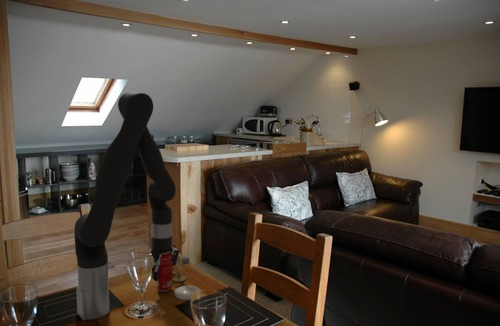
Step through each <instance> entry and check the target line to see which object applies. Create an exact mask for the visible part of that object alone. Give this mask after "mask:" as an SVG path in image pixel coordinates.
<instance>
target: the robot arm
mask: <svg viewBox="0 0 500 326" xmlns="http://www.w3.org/2000/svg"><path fill="white" fill-rule="evenodd" d="M117 107H118V111H119V113H120V115H121V118H122V119H123V122H122V125H121V127H120V130H119V132H118V133H117V135H116V136H115V138H114V139H113V141H112V142H111V143H110V144H109V145H108V147H107V148H106V150H105V151H104V153H103V155H102V158H101V161H100V163H99V166H98V169H97V172H96V178H95V187H94V197H93V202H92V203H91V207H90V209H89V211H88V212H86V213H84V214H82V215H80V216H79V218H78V219H77V220H76V221H75V224H74V227H73V228H74V230H73V232H74V249H75V256H76V257H75V258H76V262H77V283H78V285H76V289H75V290H76V313H77V315H78V316H79V317H80V318H81V320H82V321H86V320H96V319H100V318H103V317H105V316H106V315H108V313H109V312H110V295H109V293H110V290H109V288H110V287H109V256H108V251H107V247H106V243H105V242H106V241H107V239H108V238H109V235H110V232H111V228H112V225H113V220H114V216H115V215H114V214H115V211H116V209H117V206H118V202H119V200H120V197H121V195H122V192H123V189H124V187H125V184H126V181H127V179H128V177H129V174H130V170H131V168H132V164H133V161H134V159H135V155H136V154H137V152H138V154H139V157H140V159H141V164H142V165H143V169H144V171H145V174H146V176H147V177H148V178H150V179H151V180H152V181H151V182H150V183H149V186H148V188H147V189H148V190H147V194H148V200H149V205H150V209H151V227H150V228H151V229H150V230H151V232H150V235H151V238H150V240H151V241H150V245H151V246H150V247H151V251H150V253H148V255H151V256H153V257H152V258H154V265H153V264H152V265H153V268H152V272H151V277H152V280H154V282H157V281H158V267H159V266H160V258H161V255H162V254H161V253H164V252H167V251H171V253H172V267H174V266H176V265H177V258H178V255H179V253H180V250H179V249H178V248H177V249H176V248H174V249H173V248H172V244H173V223H172V222H173V220H172V219H173V210H172V208H171V206H169V205H168V204H167V202H170V201H172V200H173V199H174V198H175V196H176V194H177V190H176V189H177V188H176V184H175V182H174V180H173V178H172V176H171V175H170V173H169V171H168V170H167V168H166V165H165V161H164V159H163V156H162V153H161V150H160V147H159V146H158V145H157V142H156V141H155V140H154V137H153V136H152V134H151V132H150V130H149V128H148V123H149V121H150V119H151V117H152V115H153V112H154V101H153V99H152V98H151V96H150V95H148V94H147V93H145V92H139V91H128V92H125V93H123V94H122V95H120V97H119V98H118V101H117ZM156 261H157V262H156Z"/></svg>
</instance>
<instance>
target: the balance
mask: <svg viewBox="0 0 500 326" xmlns="http://www.w3.org/2000/svg"><path fill="white" fill-rule="evenodd" d="M174 248H175V247H174ZM174 248H173V249H174ZM176 249H178V248H176ZM176 265H177V266H176V267H177V269H176V271H177V273H176V274H177V275H174V276H172V282H173V283H183V282H185V281H186V279H187V277H186V275H182V266H183V267H187V266H188V267H189V266H190V265H191V262H190V258H189V257H187V256H183V255H182V254H181V253H180V252H179V255H178V258H177V262H176Z"/></svg>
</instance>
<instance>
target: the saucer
mask: <svg viewBox="0 0 500 326" xmlns="http://www.w3.org/2000/svg"><path fill="white" fill-rule="evenodd" d="M197 292H199V293H200V289H199V287H197V286H194V285H182V286H179V287H177V288H176V289H175V290H174V297H175V298H176V299H177V300H181V301H191V300H190V298H191V296H192V294H194V293H197Z"/></svg>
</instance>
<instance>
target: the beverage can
mask: <svg viewBox="0 0 500 326" xmlns="http://www.w3.org/2000/svg"><path fill="white" fill-rule="evenodd" d="M161 254H162V255H161V258H160V266H159V267H158V281H156V289H157V290H158V291H160V292H169V291H170V290H171V289H172V288H173V283H174V281H173V271H172V268H173V266H172V253H171V251H167V252H164V253H161ZM156 262H157V261H156Z"/></svg>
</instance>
